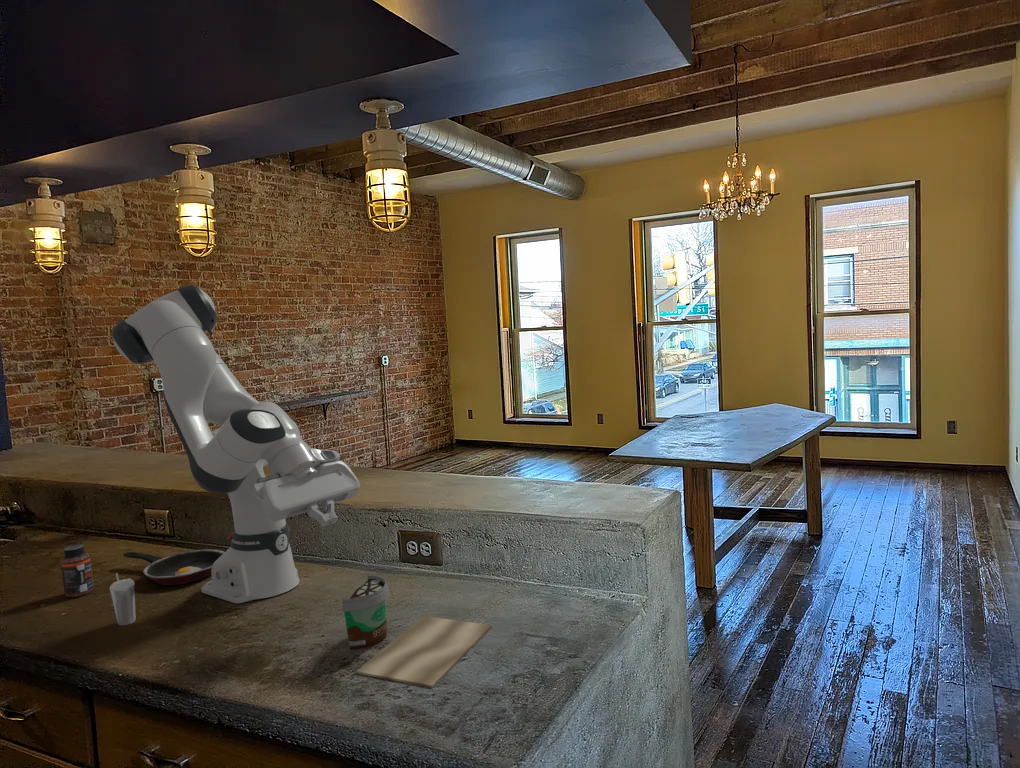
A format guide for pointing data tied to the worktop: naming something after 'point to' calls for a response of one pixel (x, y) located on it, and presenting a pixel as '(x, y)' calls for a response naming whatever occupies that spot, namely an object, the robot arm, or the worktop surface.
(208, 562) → the frying pan
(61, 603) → the worktop surface
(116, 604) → the milkshake
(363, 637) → the food container
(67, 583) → the supplement bottle
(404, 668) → the oak board
